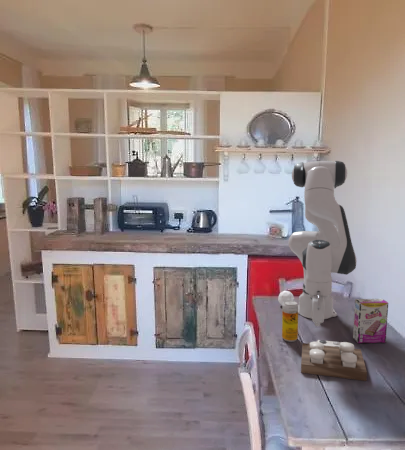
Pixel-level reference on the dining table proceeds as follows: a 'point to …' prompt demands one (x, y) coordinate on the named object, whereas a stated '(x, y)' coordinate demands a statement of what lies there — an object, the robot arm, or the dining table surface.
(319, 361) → the button
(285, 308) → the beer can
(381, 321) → the candy bar box
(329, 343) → the pattern plaque
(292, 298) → the geometric ball
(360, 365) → the button board
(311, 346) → the button
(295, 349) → the dining table surface
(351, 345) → the button
